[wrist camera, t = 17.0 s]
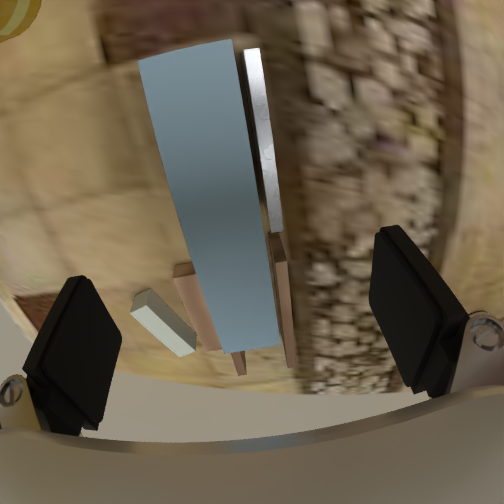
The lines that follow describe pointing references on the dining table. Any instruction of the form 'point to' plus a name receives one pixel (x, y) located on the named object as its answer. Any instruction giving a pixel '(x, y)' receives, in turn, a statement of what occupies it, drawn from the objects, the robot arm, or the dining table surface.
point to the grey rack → (262, 136)
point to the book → (16, 16)
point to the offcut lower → (196, 305)
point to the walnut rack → (283, 305)
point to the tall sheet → (214, 187)
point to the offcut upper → (163, 323)
